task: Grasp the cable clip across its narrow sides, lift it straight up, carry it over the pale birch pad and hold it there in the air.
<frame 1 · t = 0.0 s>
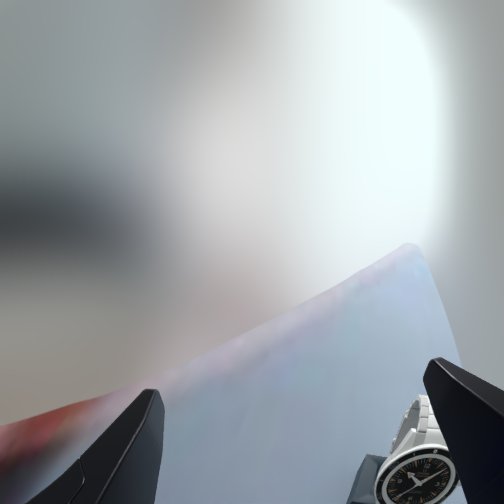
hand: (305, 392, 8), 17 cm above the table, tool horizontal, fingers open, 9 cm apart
watch: (382, 498, 15), on the table
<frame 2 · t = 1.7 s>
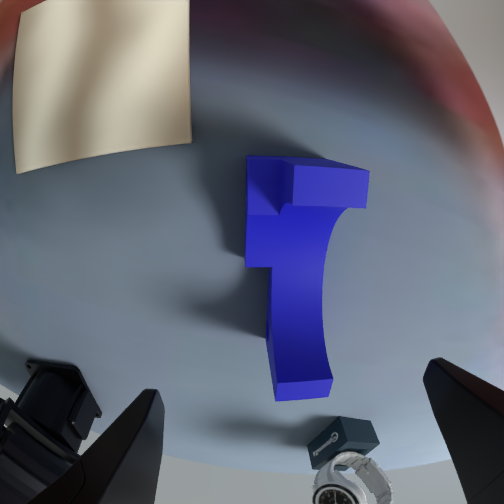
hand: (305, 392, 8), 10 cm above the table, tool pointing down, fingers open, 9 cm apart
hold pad: (90, 61, 13), on the table
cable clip: (281, 255, 19), on the table
watch: (337, 432, 26), on the table
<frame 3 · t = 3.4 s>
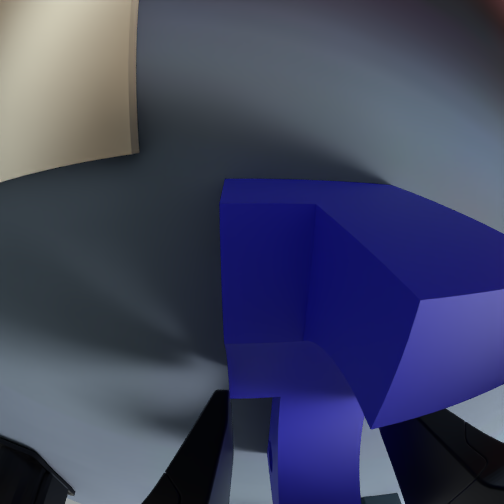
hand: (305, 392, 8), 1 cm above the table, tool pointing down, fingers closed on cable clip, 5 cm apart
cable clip: (295, 359, 10), on the table, touching gripper
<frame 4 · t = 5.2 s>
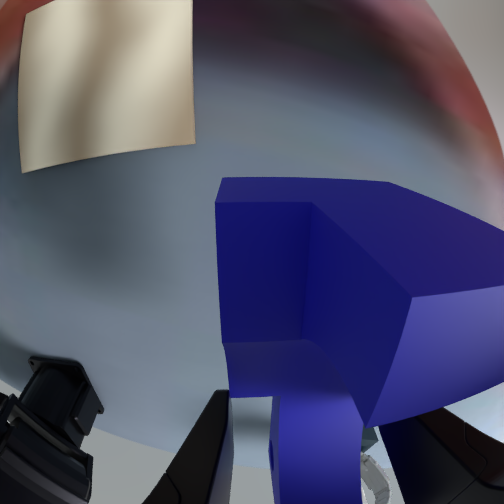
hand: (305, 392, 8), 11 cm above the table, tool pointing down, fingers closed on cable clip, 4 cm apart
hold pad: (95, 63, 13), on the table
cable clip: (296, 358, 10), point 9 cm above the table, touching gripper
watch: (336, 429, 26), on the table
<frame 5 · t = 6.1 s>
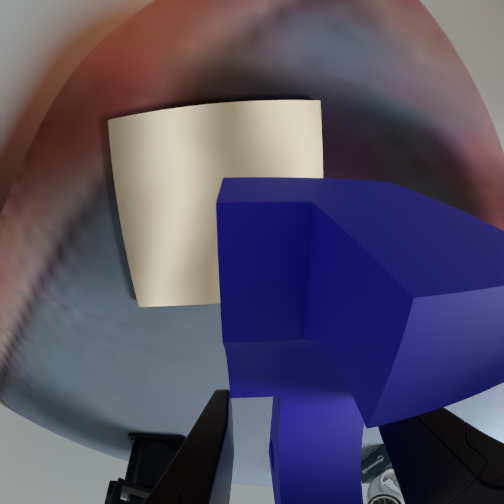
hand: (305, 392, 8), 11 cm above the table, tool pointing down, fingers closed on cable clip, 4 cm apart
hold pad: (219, 207, 17), on the table
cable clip: (296, 358, 10), point 10 cm above the table, touching gripper
watch: (379, 454, 30), on the table
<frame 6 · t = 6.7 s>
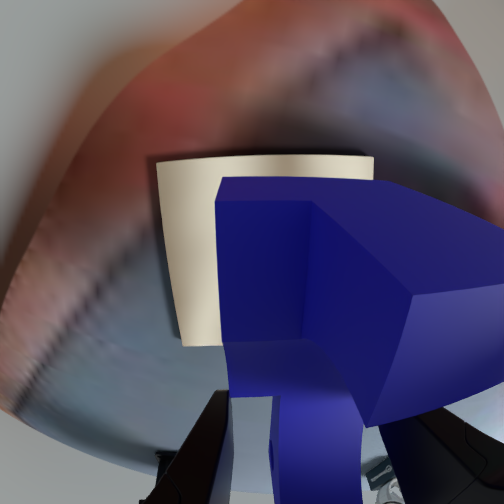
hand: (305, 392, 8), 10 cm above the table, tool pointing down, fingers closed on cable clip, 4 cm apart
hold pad: (269, 257, 18), on the table
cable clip: (296, 357, 10), point 9 cm above the table, touching gripper
watch: (387, 463, 31), on the table
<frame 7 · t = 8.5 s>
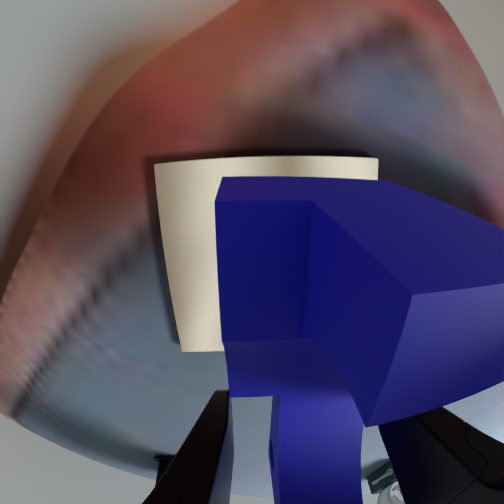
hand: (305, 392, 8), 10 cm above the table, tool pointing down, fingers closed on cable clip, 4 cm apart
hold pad: (271, 261, 18), on the table
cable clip: (296, 357, 10), point 8 cm above the table, touching gripper
watch: (388, 466, 31), on the table
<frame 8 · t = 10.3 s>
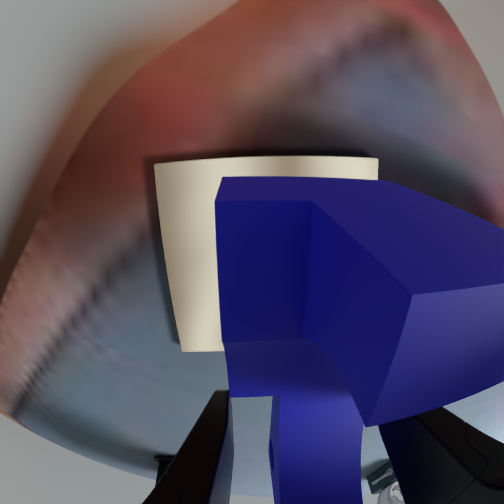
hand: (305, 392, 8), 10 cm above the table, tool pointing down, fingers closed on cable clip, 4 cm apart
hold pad: (271, 261, 18), on the table
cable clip: (296, 357, 10), point 8 cm above the table, touching gripper
watch: (388, 466, 31), on the table
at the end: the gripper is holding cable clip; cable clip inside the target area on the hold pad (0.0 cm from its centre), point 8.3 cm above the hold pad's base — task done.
